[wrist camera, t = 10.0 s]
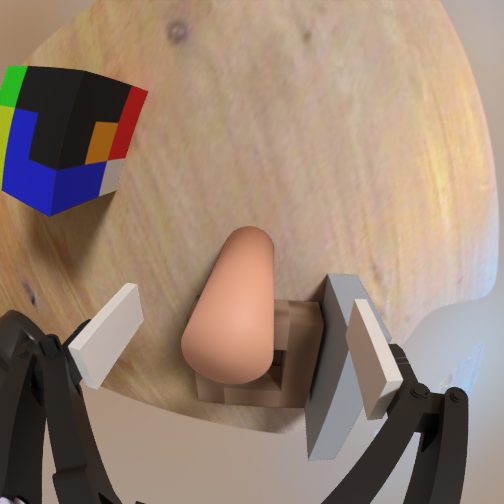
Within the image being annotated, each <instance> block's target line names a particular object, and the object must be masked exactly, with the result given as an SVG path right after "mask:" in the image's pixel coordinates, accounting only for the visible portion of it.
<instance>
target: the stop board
mask: <svg viewBox="0 0 504 504" xmlns="http://www.w3.org/2000/svg"><path fill="white" fill-rule="evenodd" d="M354 299H366V300H367V302H368V304H369V306H370V308H371V310H372V312H373V314H374V316H375V318H376V320H377V322H378V324H379V326H380V329H381V331H382V333H383V335H384V337H385V339H386V341H387V344H390V342H391V339H392V337H391V335H390V333H389V332H388V330H387V328H386V326H385V324H384V322H383V320H382V318H381V316H380V315H379V313H378V311H377V309H376V307H375V305H374V304H373V302H372V300H371V298H370V297H369V295H368V293H367V291H366V289H365V288H364V286H363V284H362V283H361V281H360V279H359V277H358V276H357V275H346V274H328V275H327V282H326V288H325V295H324V301H323V307H322V312H321V315H322V319H323V323H324V328H323V333H322V337H321V342H320V347H319V352H318V356H317V361H316V365H315V369H314V373H313V378H312V382H311V386H310V390H309V394H308V398H307V401H306V405H305V420H306V435H307V452H308V461H314V460H331V459H335V458H336V456H337V454H338V453H339V451H340V449H341V448H342V446H343V444H344V442H345V441H346V439H347V437H348V435H349V433H350V432H351V430H352V428H353V426H354V424H355V422H356V420H357V418H358V416H359V414H360V412H361V410H362V408H363V406H364V404H363V400H362V396H361V392H360V388H359V384H358V380H357V376H356V372H355V369H354V365H353V361H352V358H351V354H350V351H349V347H348V344H347V340H346V337H345V336H346V332H347V328H348V324H349V320H350V316H351V311H352V307H353V303H354Z"/></svg>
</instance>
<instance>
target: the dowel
mask: <svg viewBox="0 0 504 504" xmlns="http://www.w3.org/2000/svg"><path fill="white" fill-rule="evenodd" d="M273 339H274V245H273V242H272V240H271V238H270V237H269V235H268V234H267V233H266V232H264V231H263V230H261V229H259V228H256V227H251V226H247V227H242V228H239V229H237V230H235V231H234V232H233V233H231V235H230V236H229V237H228V239H227V241H226V243H225V245H224V247H223V249H222V251H221V254H220V256H219V258H218V260H217V262H216V264H215V266H214V268H213V270H212V273H211V275H210V277H209V279H208V281H207V283H206V285H205V288H204V290H203V292H202V294H201V296H200V298H199V301H198V303H197V305H196V307H195V309H194V311H193V314H192V316H191V318H190V320H189V322H188V325H187V327H186V329H185V331H184V334H183V336H182V339H181V350H182V354H183V356H184V358H185V360H186V362H187V363H188V364H189V365H190V366H191V367H192V369H194V370H195V371H196V372H197V373H199V374H200V375H202V376H204V377H205V378H207V379H210V380H212V381H215V382H219V383H225V384H242V383H247V382H250V381H253V380H255V379H257V378H259V377H261V376H262V375H263V374H264V373H266V371H267V370H268V369H269V367H270V366H271V363H272V360H273Z"/></svg>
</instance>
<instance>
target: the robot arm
mask: <svg viewBox="0 0 504 504" xmlns="http://www.w3.org/2000/svg"><path fill="white" fill-rule="evenodd" d="M143 321H144V319H143V314H142V309H141V304H140V299H139V293H138V287H137V284H131V283H126V284H125V285H124V286H123V287H122V288H121V289H120V290H119V291H118V292H117V293H116V294H115V296H114V297H113V298H112V299H111V300H110V301H109V302H108V303H107V304H106V305H105V306H104V307H103V308H102V309H101V310H100V311H99V312H98V314H97V315H96V316H95V317H94V318H93V319H92V320H91V319H88V320H87V321H85V322H83V323H82V324H81V325H80V326H79V327H78V328H77V330H75V331H74V332H73V334H72V335H71V336H70V337H69V338H68V339H67V340H66V341H65V342H64V343H63V345H61V343H60V340H59V338H58V336H57V335H54V334H48V335H44V334H43V332H42V331H41V330H40V329H39V328H38V327H37V326H36V325H35V324H34V323H33V322H32V321H31V320H30V319H29V318H27V317H26V316H25V315H23V314H22V313H20V312H18V311H15V310H10V311H8V312H6V313H5V314H4V315H3V316H2V317H1V318H0V504H42V458H43V442H44V433H45V424H46V416H47V424H48V431H49V437H50V443H51V447H52V453H53V458H54V462H55V467H56V473H55V474H53V476H52V478H53V483H54V487H55V490H56V494H57V498H58V501H59V504H122V503H121V501H120V499H119V498H118V497H117V495H116V494H115V492H114V490H113V488H112V485H111V483H110V481H109V478H108V476H107V473H106V471H105V468H104V465H103V463H102V460H101V457H100V454H99V451H98V448H97V445H96V442H95V439H94V436H93V432H92V429H91V425H90V422H89V418H88V415H87V411H86V406H85V402H84V398H83V394H82V389H81V386H80V384H79V382H80V381H81V380H82V379H83V381H84V383H85V385H86V386H87V387H90V388H93V389H96V390H98V388H99V387H100V385H101V384H102V382H103V381H104V379H105V377H106V376H107V374H108V373H109V371H110V370H111V368H112V367H113V365H114V364H115V362H116V361H117V359H118V358H119V356H120V355H121V353H122V352H123V350H124V349H125V347H126V346H127V344H128V343H129V341H130V340H131V338H132V337H133V335H134V334H135V332H136V331H137V330H138V328H139V327H140V325H141V324H142V322H143ZM345 337H346V340H347V344H348V347H349V351H350V354H351V358H352V361H353V365H354V369H355V372H356V376H357V380H358V384H359V388H360V392H361V396H362V400H363V404H364V408H365V412H366V417H367V420H374V419H382V418H383V416H384V414H385V413H386V412H387V415H388V419H387V420H386V422H385V423H384V425H383V426H382V428H381V429H380V431H379V432H378V434H377V435H376V437H375V438H374V440H373V441H372V443H371V444H370V445H369V447H368V448H367V450H366V451H365V452H364V454H363V455H362V456H361V458H360V459H359V460H358V462H357V463H356V464H355V465H354V467H353V468H352V469H351V470H350V472H349V473H348V474H347V475H346V476H345V478H344V479H343V480H342V481H341V482H340V484H339V485H338V486H337V487H336V488H335V489H334V490H333V491H332V493H331V494H330V495H329V496H328V497H327V498H326V499H325V500H324V501H323V502H322V503H321V504H370V503H371V501H372V500H373V498H374V497H375V496H376V494H377V493H378V491H379V490H380V489H381V487H382V486H383V484H384V483H385V481H386V480H387V478H388V477H389V475H390V474H391V472H392V470H393V469H394V467H395V466H396V464H397V462H398V461H399V459H400V457H401V456H402V454H403V452H404V450H405V448H406V447H407V445H408V443H409V441H410V439H411V437H412V436H413V434H414V432H419V433H421V436H420V441H419V447H418V451H417V456H416V460H415V464H414V468H413V472H412V476H411V480H410V483H409V486H408V490H407V493H406V496H405V499H404V502H403V504H460V499H461V494H462V488H463V482H464V475H465V467H466V457H467V443H468V396H467V394H466V393H465V391H463V390H462V389H461V388H458V387H451V388H449V389H448V390H447V391H446V392H445V394H439V393H432V392H430V390H429V389H428V387H427V386H425V385H424V384H422V383H418V381H417V379H416V376H415V374H414V372H413V370H412V368H411V365H410V364H409V361H408V360H407V358H406V355H405V353H404V351H403V349H402V348H400V347H399V346H398V345H397V344H387V341H386V339H385V337H384V335H383V333H382V331H381V329H380V326H379V324H378V322H377V320H376V318H375V316H374V314H373V312H372V310H371V308H370V306H369V304H368V302H367V300H366V299H354V303H353V307H352V311H351V316H350V320H349V324H348V328H347V332H346V336H345ZM135 504H144V503H141V502H138V501H136V503H135Z"/></svg>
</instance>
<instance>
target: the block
mask: <svg viewBox="0 0 504 504" xmlns="http://www.w3.org/2000/svg"><path fill="white" fill-rule="evenodd" d="M200 296H201V295H198V296H197V298H196V300H195V302H194V304H193V306H192V308H191V310H190V312H189V315H188V317H187V319H188V322H189V320H190V318H191V316H192V314H193V311H194V309H195V307H196V305H197V303H198V301H199V298H200ZM323 328H324V323H323V319H322V315H321V311H320V307H319V303H318V302H311V301H285V300H274V339H273V350H283V352H282V360H281V366H270V367H269V369H268V370H267V371H266V373H264V374H263V375H262V376H261V377H259V378H257V379H255V380H253V381H250V382H247V383H242V384H225V383H219V382H215V381H212V380H210V379H207V378H205V377H204V376H202V375H200V374H199V373H197V372H196V371H195V370H194V372H195V379H196V385H197V391H198V397H199V401H205V402H213V403H222V404H232V405H243V406H258V407H280V408H305V405H306V401H307V398H308V394H309V390H310V386H311V382H312V378H313V373H314V369H315V365H316V361H317V356H318V352H319V347H320V342H321V337H322V333H323Z"/></svg>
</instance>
